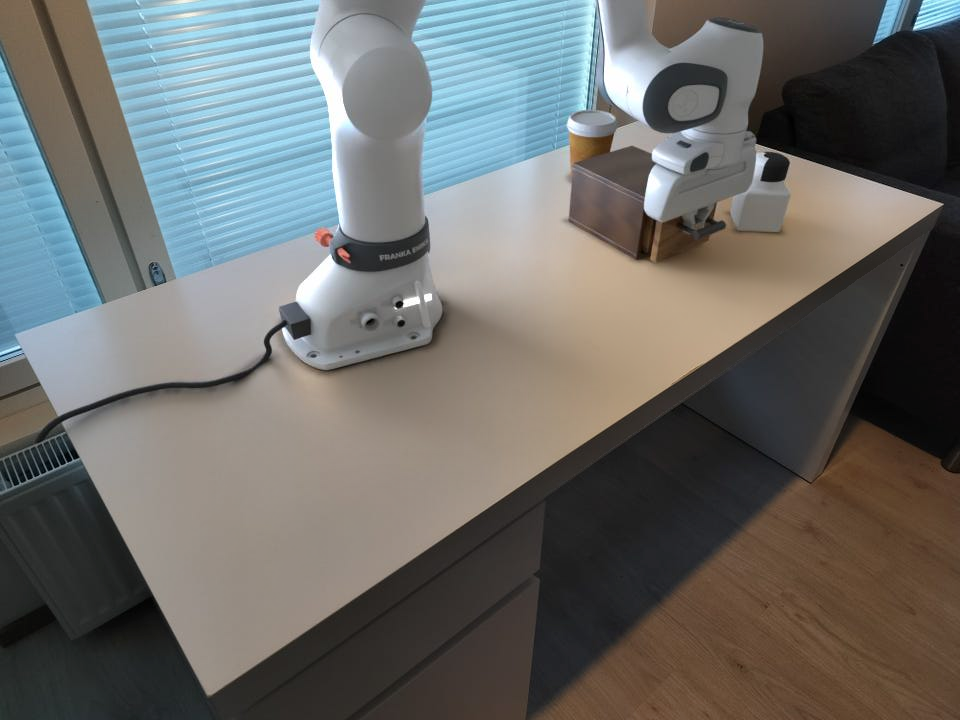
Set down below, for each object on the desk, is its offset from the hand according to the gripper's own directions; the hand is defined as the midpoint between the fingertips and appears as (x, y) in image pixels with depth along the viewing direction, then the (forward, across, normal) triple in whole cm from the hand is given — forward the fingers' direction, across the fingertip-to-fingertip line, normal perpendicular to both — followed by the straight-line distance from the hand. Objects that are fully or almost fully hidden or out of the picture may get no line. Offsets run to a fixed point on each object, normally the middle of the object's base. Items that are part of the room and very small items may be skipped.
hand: (692, 230), depth 106 cm
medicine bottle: (+5, -19, -2) cm, 20 cm away
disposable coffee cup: (+5, -8, -33) cm, 34 cm away
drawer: (+4, 0, -7) cm, 8 cm away
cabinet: (+5, 0, -13) cm, 14 cm away
